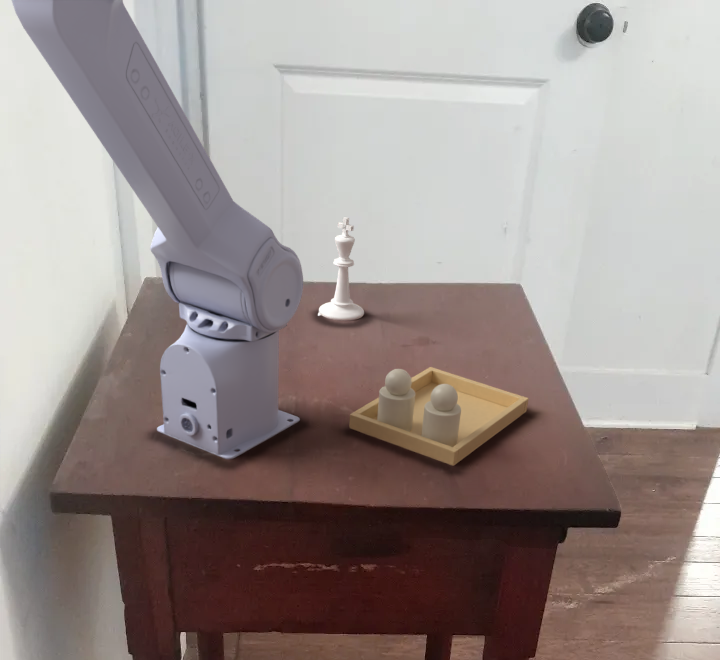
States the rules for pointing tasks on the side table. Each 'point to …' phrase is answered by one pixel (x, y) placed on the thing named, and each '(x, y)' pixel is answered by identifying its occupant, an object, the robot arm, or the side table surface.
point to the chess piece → (342, 280)
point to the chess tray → (477, 421)
